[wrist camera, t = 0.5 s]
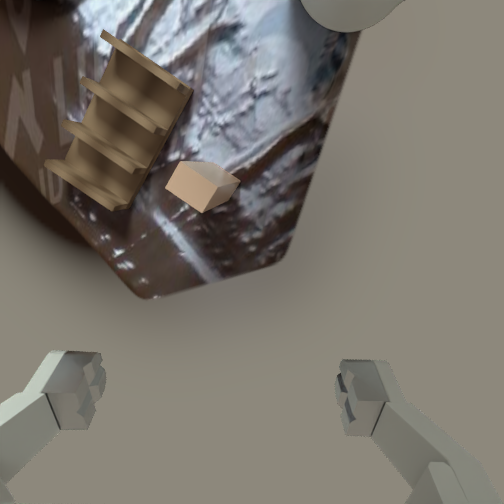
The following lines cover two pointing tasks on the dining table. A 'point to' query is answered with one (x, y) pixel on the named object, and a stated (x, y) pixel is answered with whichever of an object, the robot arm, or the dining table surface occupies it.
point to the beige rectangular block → (202, 184)
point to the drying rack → (121, 127)
